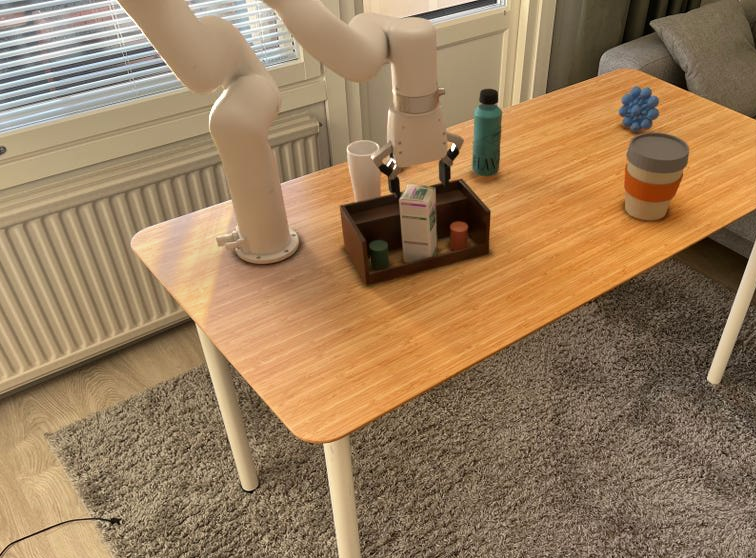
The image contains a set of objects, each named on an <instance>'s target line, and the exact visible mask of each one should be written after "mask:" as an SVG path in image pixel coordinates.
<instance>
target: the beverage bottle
mask: <svg viewBox="0 0 756 558" xmlns="http://www.w3.org/2000/svg"><path fill="white" fill-rule="evenodd" d="M478 101H479V103H480V104H479V105H478V106H477V107H475V109H474V110H473V140H472V147H471V148H472V150H471V154H472V159H471V169H472V172H473V174H475V175H477V176H480V177H492V176H495V175H496V174H498V172H499V170H500V167H501V166H500V161H501V141H502V134H503V133H502V117H503V111H502V109H501V108H500V106H498V105H497V104H498V103H499V91H498V90H497V89H493V88H484V89H481V90H480V91H479V97H478Z"/></svg>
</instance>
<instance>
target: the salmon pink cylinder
mask: <svg viewBox="0 0 756 558" xmlns="http://www.w3.org/2000/svg"><path fill="white" fill-rule="evenodd" d="M467 247H469V234H468V225H467V224H466V223H464V222H454V223H452V224H451V225H450V236H449V248H450V249H451V250H452V251H456V250H460V249H464V248H467Z"/></svg>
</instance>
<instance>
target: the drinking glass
mask: <svg viewBox="0 0 756 558" xmlns="http://www.w3.org/2000/svg"><path fill="white" fill-rule="evenodd" d="M379 149H381V147H380V145H379V144H378V143H377V142H375V141H372V140H366V139H365V140H355V141H353V142H351V143H348V145H347V147H346V158H347V159H346V160H347V168H348V172H349V173H348V174H349V178H350V182H351V188H352V192H353V197H354V202H358V201H362V200H367V199H371V198H376V197H380V196H382V172H381V171H380V170H379V169H378V167H377V166H376V164H375V163H374V162H373V160H372V159H371V156H372V155H373V154H374V153H375V152H377V151H378V150H379Z"/></svg>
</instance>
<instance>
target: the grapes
mask: <svg viewBox="0 0 756 558" xmlns="http://www.w3.org/2000/svg"><path fill="white" fill-rule="evenodd" d="M659 103H660V99H659V97H658V96H657V95H653V91H652V89H651V88H650V87H648V86H646V87H643V88H640V86H634V87H632V88H631V89H630V91H629V93H626V94H624V95H623V96H622V97H621V104H622V105H621V106H620V107H619V109H618V115H619V116H620V117H622V118H623V119H622V126H623V127H624V128H630V129H631V132H633V133H640V132H641V131H642V130H644V131H647V130H650V129H651V128H652V126H653V121H655V120H657V119H658V118H659V116H660V110H659V109H658V108H657V106H659Z"/></svg>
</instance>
